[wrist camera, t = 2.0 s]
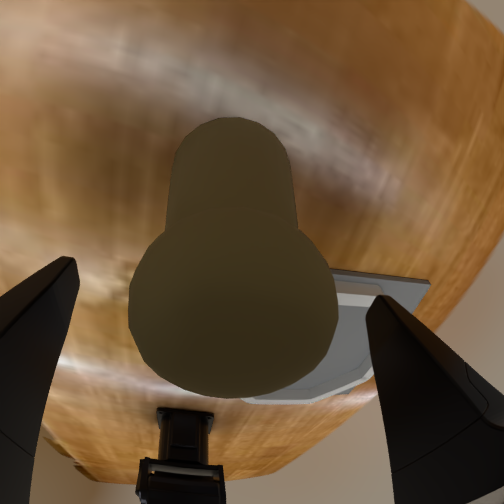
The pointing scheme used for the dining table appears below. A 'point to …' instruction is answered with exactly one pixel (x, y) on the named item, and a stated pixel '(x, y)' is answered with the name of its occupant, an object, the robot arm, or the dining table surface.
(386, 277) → the collar plate
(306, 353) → the olive brown pawn
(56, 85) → the dining table surface
